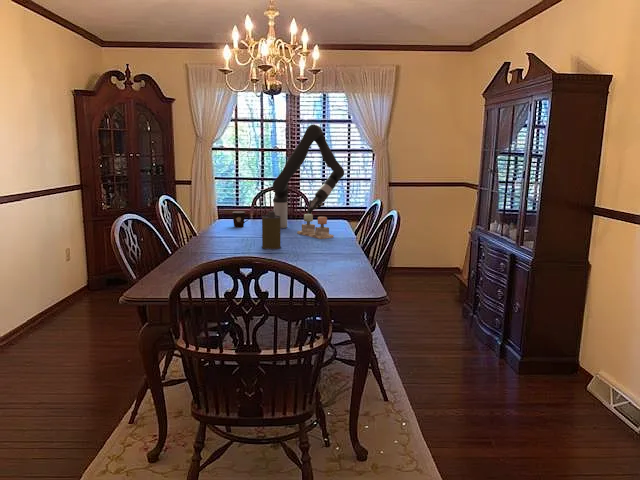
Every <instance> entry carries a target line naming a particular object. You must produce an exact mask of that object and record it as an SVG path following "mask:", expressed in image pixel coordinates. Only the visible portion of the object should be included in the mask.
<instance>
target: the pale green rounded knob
mask: <svg viewBox="0 0 640 480" xmlns="http://www.w3.org/2000/svg"><path fill="white" fill-rule="evenodd" d="M313 218H314V214H312V213H311V214H308V213H305V214H304V213H303V221H304V222H306V224H307V225H310V224H311V223H312V222H313V221H314V219H313Z"/></svg>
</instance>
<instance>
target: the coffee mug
mask: <svg viewBox="0 0 640 480" xmlns="http://www.w3.org/2000/svg"><path fill="white" fill-rule="evenodd" d="M246 216H249V218H248V219H246V220H245V217H246ZM251 218H252V216H251V214H249V213H246V211H240V210H237V211H232V219H233V226H234V228H244V225H245V223H247V222H248V221H249V220H250V219H251Z"/></svg>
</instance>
